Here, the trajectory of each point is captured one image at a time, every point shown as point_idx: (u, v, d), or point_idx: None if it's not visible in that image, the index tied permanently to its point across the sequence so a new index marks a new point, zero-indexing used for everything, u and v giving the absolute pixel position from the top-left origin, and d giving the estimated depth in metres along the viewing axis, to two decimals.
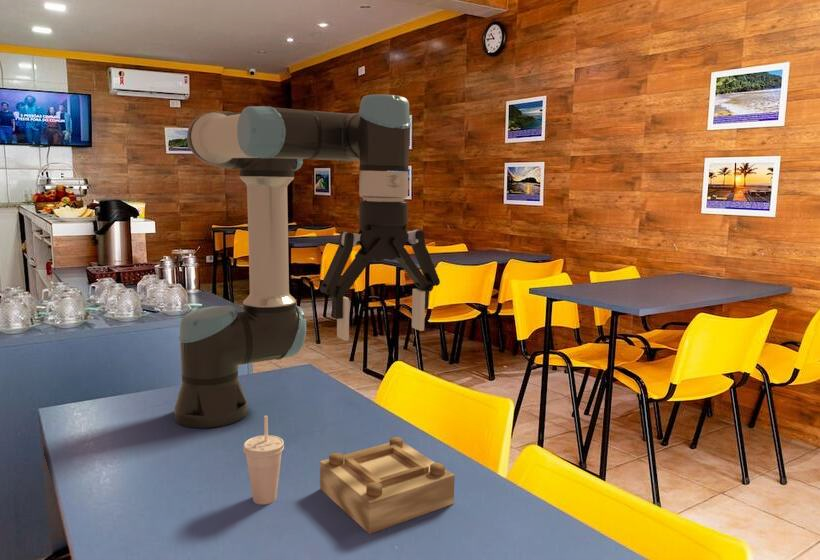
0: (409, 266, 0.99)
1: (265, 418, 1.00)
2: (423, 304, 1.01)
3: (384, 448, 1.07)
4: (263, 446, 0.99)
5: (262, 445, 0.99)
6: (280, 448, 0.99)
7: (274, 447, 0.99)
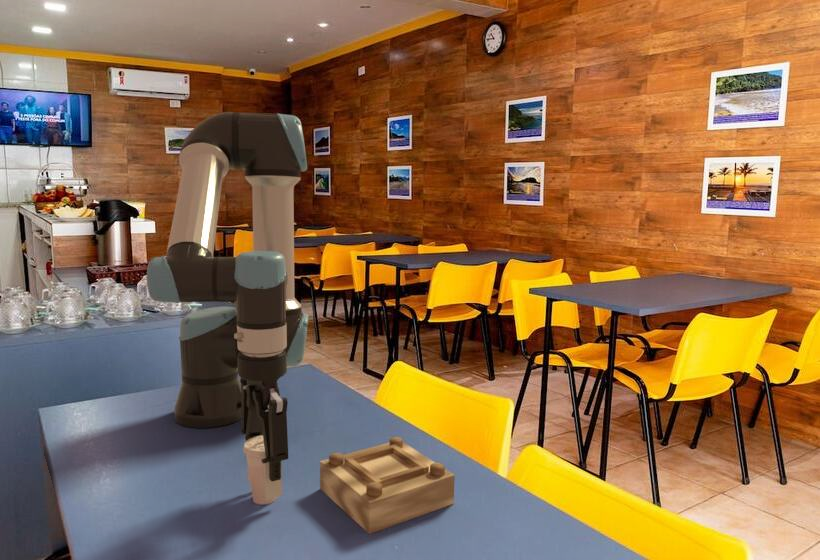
0: (262, 425, 0.97)
1: None
2: (264, 473, 0.97)
3: (384, 448, 1.07)
4: (263, 446, 0.99)
5: (262, 445, 0.99)
6: None
7: None
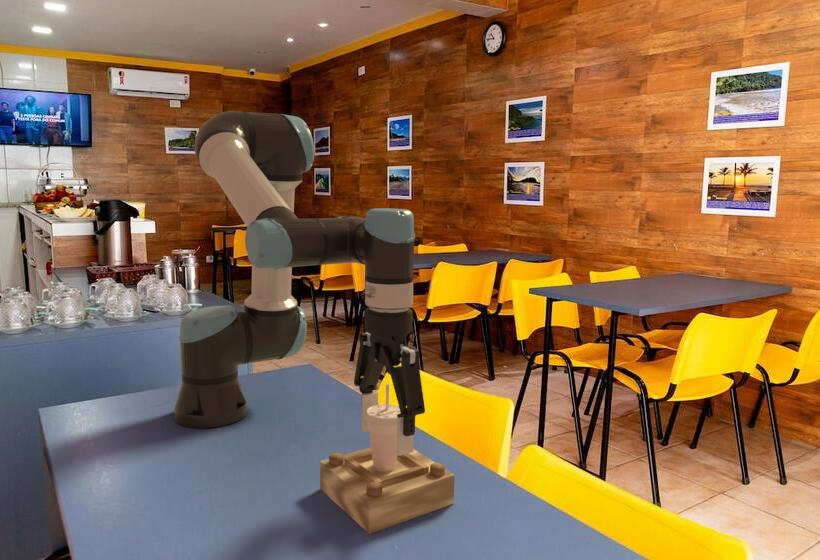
0: (393, 381, 0.96)
1: (387, 386, 1.01)
2: (398, 428, 0.96)
3: None
4: (386, 414, 1.00)
5: (385, 413, 1.00)
6: None
7: None
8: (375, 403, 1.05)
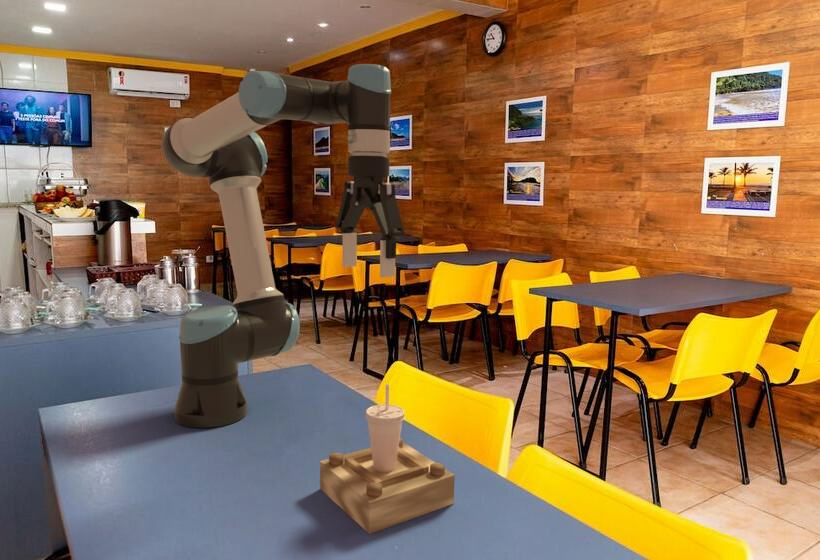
0: (374, 214, 1.10)
1: (387, 386, 1.01)
2: (381, 252, 1.09)
3: None
4: (386, 414, 1.00)
5: (385, 413, 1.00)
6: (402, 416, 1.00)
7: (397, 415, 1.00)
8: (354, 242, 1.21)
